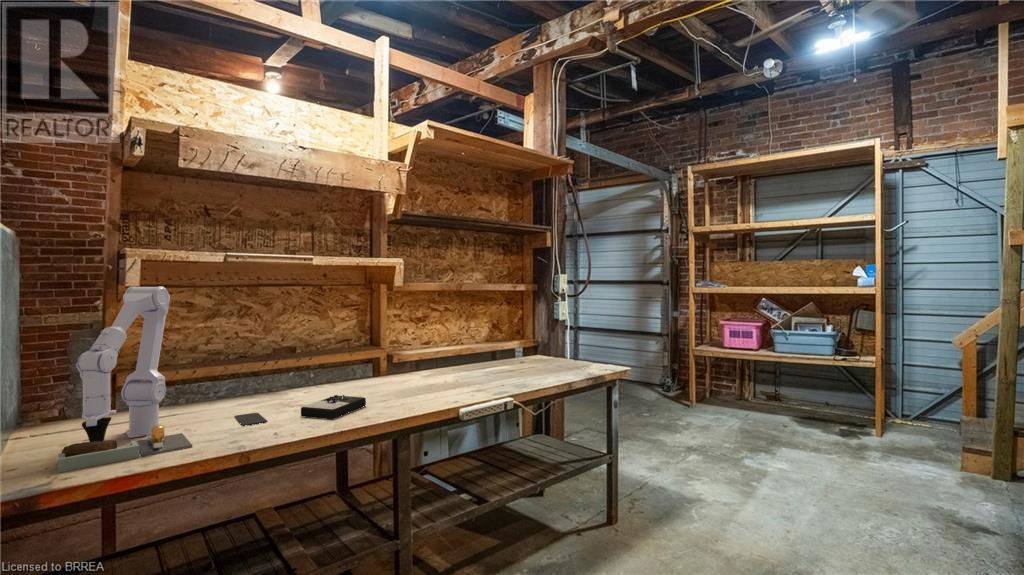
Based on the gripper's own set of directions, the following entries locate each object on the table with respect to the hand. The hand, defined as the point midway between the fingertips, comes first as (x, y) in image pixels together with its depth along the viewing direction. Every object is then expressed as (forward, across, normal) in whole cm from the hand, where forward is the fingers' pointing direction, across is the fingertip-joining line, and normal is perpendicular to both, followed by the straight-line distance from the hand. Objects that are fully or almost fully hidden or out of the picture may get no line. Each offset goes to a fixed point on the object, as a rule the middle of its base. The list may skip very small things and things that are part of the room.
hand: (97, 447), depth 133 cm
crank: (0, -3, -13) cm, 13 cm away
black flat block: (+2, +13, -63) cm, 65 cm away
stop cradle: (+1, -8, -2) cm, 9 cm away
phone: (+2, +16, -37) cm, 40 cm away
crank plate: (+1, -2, -15) cm, 15 cm away
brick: (+2, -7, 0) cm, 7 cm away
